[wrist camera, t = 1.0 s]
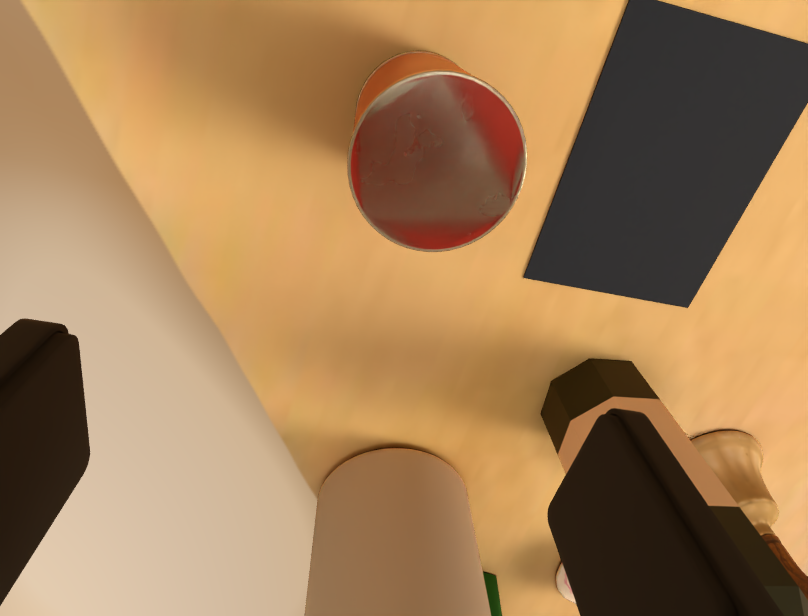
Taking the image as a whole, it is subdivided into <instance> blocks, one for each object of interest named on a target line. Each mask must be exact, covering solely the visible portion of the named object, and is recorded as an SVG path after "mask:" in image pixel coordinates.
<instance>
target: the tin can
mask: <svg viewBox="0 0 808 616" xmlns="http://www.w3.org/2000/svg"><path fill="white" fill-rule="evenodd" d="M526 167H527V147H526V140H525V136H524V132H523V128H522V126H521V123H520V121H519V118H518V116H517V115H516V113H515V111H514V110H513V108H512V106H511V105H510V104H509V103H508V101H507V100H506V99H505V98H504V97H503V96H502V95H501V94H500V93H499V92H498V91H497V90H496V89H495V88H493V87H492V86H490V85H489V84H487V83H486V82H484V81H483V80H481V79H479V78H477V77H475V76H472V75H471V74H469V73H467V72H466V71H464V70H463V69H461V68H460V67H458V66H457V65H456V64H455V63H453V62H452V61H451V60H449V59H447V58H445V57H443V56H441V55H439V54H436V53H433V52H427V51H410V52H405V53H401V54H398V55H396V56H393V57H391V58H389V59H388V60H386V61H384V62H383V63H382V64H380V65H379V66H378V67H377V68H376V69H375V70H374V71H373V72H372V73H371V74H370V76H369V77H368V78H367V80H366V81H365V83H364V85H363V87H362V89H361V91H360V94H359V97H358V101H357V105H356V113H355V122H354V129H353V134H352V137H351V141H350V146H349V150H348V160H347V169H348V179H349V185H350V189H351V192H352V195H353V198H354V200H355V203H356V205H357V207H358V209H359V210H360V212H361V213H362V215H363V217H364V218H365V219H366V220H367V222H368V223H369V224H370V225H371V226H372V227H373V228H374V229H375V230H376V231H377V232H378V233H380V234H381V235H382V236H384V237H385V238H387V239H388V240H390V241H392V242H394V243H396V244H398V245H400V246H403V247H406V248H409V249H413V250H417V251H425V252H441V251H449V250H453V249H457V248H461V247H463V246H466V245H469V244H471V243H473V242H475V241H477V240H479V239H481V238H482V237H484V236H485V235H486V234H488V233H489V232H491V231H492V230H493V229H494V228H495V227H496V226H498V224H499V223H500V222H501V221H502V220H503V219H504V218H505V217H506V215H507V214H508V213H509V211H510V210H511V209H512V207H513V205H514V203H515V202H516V200H517V198H518V196H519V193H520V191H521V188H522V185H523V182H524V178H525V174H526Z"/></svg>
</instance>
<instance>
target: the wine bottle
mask: <svg viewBox="0 0 808 616" xmlns="http://www.w3.org/2000/svg"><path fill="white" fill-rule="evenodd" d="M612 408H618V409H624V410H631V411H637V412H642V413H644V414H645V415H646V416H647V417H648V418H649V420H650V421H651V423H652V424H653V425H654V427H655V428H656V430H657V431H658V433H659V434H660V436H661V437H662V439H663V440H664V441H665V443H666V444H667V446H668V447H669V449H670V450H671V452H672V453H673V455H674V456H675V457H676V459H677V460H678V462H679V463H680V465H681V466H682V468H683V469H684V471H685V472H686V473H687V475H688V476H689V478H690V479H691V481H692V482H693V484H694V485H695V487H696V488H697V489H698V491H699V492H700V494H701V495H702V497H703V498H704V500H705V501H706V503H707V504H708V505H709V507H710V508H711V510H712V511H713V513H714V514H715V516H716V517H717V519H718V520H719V521H720V523H721V524H722V526H723V527H724V529H725V530H726V532H727V533H728V535H729V536H730V537H731V539H732V540H733V542H734V543H735V545H736V546H737V548H738V549H739V551H740V552H741V553H742V555H743V556H744V558H745V559H746V561H747V562H748V564H749V565H750V567H751V568H752V569H753V571H754V572H755V574H756V575H757V577H758V578H759V580H760V581H761V583H762V584H763V585H764V587H765V588H766V590H767V591H768V593H769V594H770V596H771V597H772V599H773V600H774V602H775V603H776V604H777V606H778V607H779V609H780V610H781V612H782V613H783V615H784V616H808V600H807V598H806V597H805V595H804V594H803V592H802V591H801V589H800V588H799V586H798V585H797V584H796V582H795V581H794V580H793V578H792V577H791V576H790V574H789V573H788V572H787V570H786V569H785V568H784V566H783V565H782V564H781V562H780V561H779V559H778V558H777V557H776V555H775V554H774V553H773V551H772V550H771V549H770V547H769V546H768V545H767V543H766V542H765V541H764V539H763V538H762V537H761V535H760V534H759V533H758V531H757V530H756V529H755V527H754V526H753V524H752V523H751V522H750V520H749V519H748V518H747V516H746V515H745V514H744V512H743V511H742V510H741V508H740V507H739V506H738V504H737V503H736V502H735V500H734V499H733V498H732V496H731V495H730V493H729V492H728V491H727V489H726V488H725V487H724V485H723V484H722V483H721V481H720V480H719V479H718V477H717V476H716V475H715V473H714V472H713V471H712V469H711V468H710V467H709V465H708V464H707V463H706V461H705V460H704V458H703V457H702V456H701V454H700V453H699V452H698V450H697V449H696V448H695V446H694V445H693V444H692V442H691V441H690V440H689V438H688V437H687V436H686V434H685V433H684V432H683V430H682V429H681V427H680V426H679V425H678V423H677V422H676V421H675V419H674V418H673V417H672V415H671V414H670V413H669V411H668V410H667V409H666V407H665V406H664V405H663V403H662V402H661V401H660V399H659V398H658V397H657V395H656V394H655V392H654V391H653V390H652V388H651V387H650V386H649V384H648V383H647V382H646V380H645V379H644V378H643V376H642V375H641V374H640V372H639V371H638V370H637V368H636V367H635V366H634V364H633V363H632V361H618V360H603V359H588V360H587V361H585V362H583V363H582V364H580V365H578V366H576V367H575V368H573V369H571V370H570V371H568V372H566V373H565V374H563V375H561V376H560V377H558V378H556V379H555V380H553V381H551V384H550V387H549V390H548V393H547V396H546V399H545V402H544V405H543V408H542V411H541V416H542V418H543V421H544V423H545V425H546V428H547V430H548V433H549V435H550V437H551V440H552V442H553V445H554V447H555V449H556V452H557V454H558V456H559V459H560V461H561V464H562V466H563V468H564V471H565V473H566V474H567V472H568V470H569V468H570V467H571V465H572V463H573V461H574V459H575V458H576V456H577V454H578V452H579V450H580V449H581V447H582V445H583V443H584V441H585V440H586V438H587V436H588V434H589V432H590V430H591V429H592V427H593V425H594V423H595V421H596V420H597V418H598V417H599V416H600V415H602V414H606V412H607V411H608V410H610V409H612Z"/></svg>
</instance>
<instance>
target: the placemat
mask: <svg viewBox="0 0 808 616" xmlns="http://www.w3.org/2000/svg"><path fill="white" fill-rule="evenodd" d="M807 103H808V44H807V43H804V42H800V41H797V40H793V39H790V38H786V37H783V36H779V35H776V34H772V33H769V32H765V31H762V30H758V29H755V28H751V27H748V26H744V25H741V24H738V23H734V22H731V21H727V20H724V19H720V18H717V17H713V16H710V15H706V14H703V13H699V12H696V11H692V10H689V9H685V8H682V7H678V6H675V5H671V4H668V3H665V2H661V1H658V0H629V2H628V4H627V7H626V10H625V12H624V15H623V18H622V20H621V23H620V25H619V28H618V31H617V33H616V36H615V39H614V41H613V44H612V46H611V49H610V52H609V54H608V57H607V60H606V62H605V65H604V67H603V70H602V73H601V75H600V78H599V81H598V83H597V86H596V88H595V91H594V94H593V96H592V99H591V101H590V104H589V107H588V109H587V112H586V115H585V117H584V120H583V122H582V125H581V128H580V130H579V133H578V136H577V138H576V141H575V143H574V146H573V149H572V151H571V154H570V157H569V159H568V162H567V164H566V167H565V170H564V172H563V175H562V177H561V180H560V183H559V185H558V188H557V191H556V193H555V196H554V198H553V201H552V204H551V206H550V209H549V212H548V214H547V217H546V219H545V222H544V225H543V227H542V230H541V233H540V235H539V238H538V240H537V243H536V246H535V248H534V251H533V253H532V256H531V259H530V261H529V264H528V267H527V269H526V272H525V274H524V278H527V279H533V280H538V281H543V282H549V283H554V284H560V285H565V286H571V287H576V288H582V289H587V290H593V291H598V292H604V293H609V294H615V295H620V296H626V297H631V298H637V299H642V300H648V301H653V302H659V303H664V304H670V305H675V306H680V307H686V308H688V307H689V305H690V304H691V302H692V300H693V298H694V297H695V295H696V293H697V292H698V290H699V288H700V286H701V285H702V283H703V281H704V280H705V278H706V276H707V274H708V273H709V271H710V269H711V268H712V266H713V264H714V262H715V261H716V259H717V257H718V256H719V254H720V252H721V250H722V249H723V247H724V245H725V244H726V242H727V240H728V238H729V237H730V235H731V233H732V232H733V230H734V228H735V226H736V225H737V223H738V221H739V220H740V218H741V216H742V214H743V213H744V211H745V209H746V208H747V206H748V204H749V202H750V201H751V199H752V197H753V196H754V194H755V192H756V190H757V189H758V187H759V185H760V184H761V182H762V180H763V178H764V177H765V175H766V173H767V172H768V170H769V168H770V166H771V165H772V163H773V161H774V160H775V158H776V156H777V154H778V153H779V151H780V149H781V148H782V146H783V144H784V142H785V141H786V139H787V137H788V136H789V134H790V132H791V130H792V129H793V127H794V125H795V124H796V122H797V120H798V118H799V117H800V115H801V113H802V112H803V110H804V108H805V106H806V105H807Z"/></svg>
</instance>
